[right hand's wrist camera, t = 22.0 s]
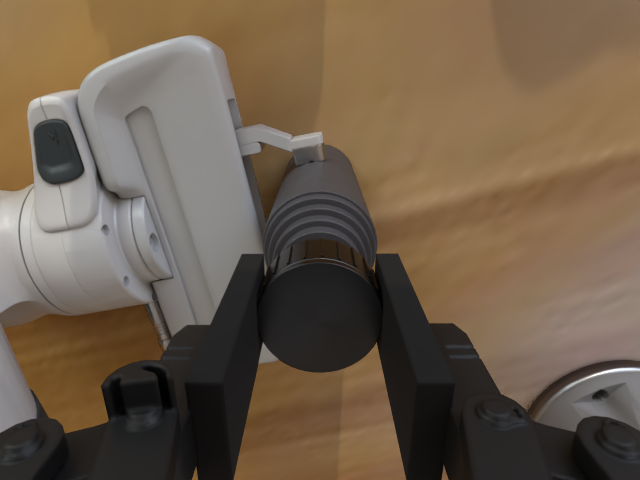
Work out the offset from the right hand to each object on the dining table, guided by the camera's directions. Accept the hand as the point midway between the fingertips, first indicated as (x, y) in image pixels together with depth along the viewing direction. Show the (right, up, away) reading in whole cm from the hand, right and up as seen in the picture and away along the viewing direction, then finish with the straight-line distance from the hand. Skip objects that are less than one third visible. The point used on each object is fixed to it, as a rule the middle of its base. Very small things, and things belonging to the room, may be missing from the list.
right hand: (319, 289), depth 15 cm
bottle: (0, +6, +16) cm, 18 cm away
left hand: (+1, +4, +11) cm, 12 cm away
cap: (0, -1, -2) cm, 2 cm away
